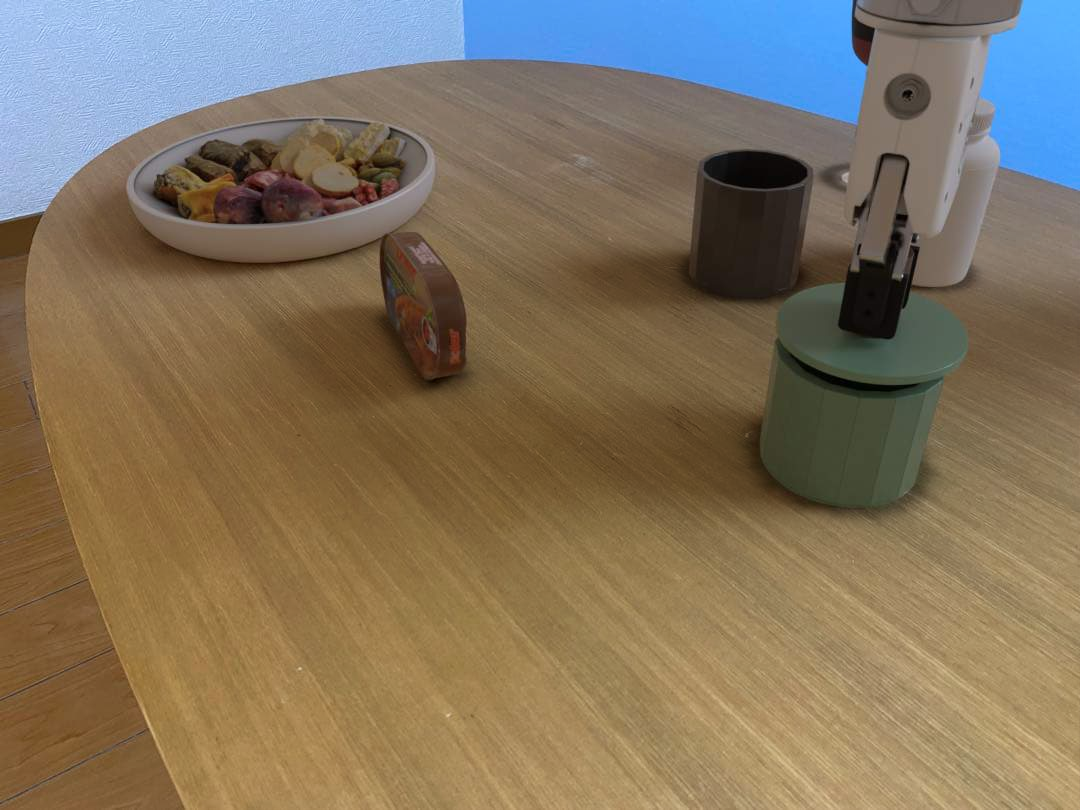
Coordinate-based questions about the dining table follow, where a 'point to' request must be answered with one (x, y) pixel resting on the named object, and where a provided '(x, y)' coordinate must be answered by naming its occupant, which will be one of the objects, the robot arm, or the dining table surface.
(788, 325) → the lid
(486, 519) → the dining table surface
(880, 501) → the can
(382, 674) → the dining table surface
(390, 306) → the tin
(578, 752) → the dining table surface
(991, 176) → the pill bottle
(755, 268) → the cup
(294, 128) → the bowl
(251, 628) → the dining table surface
